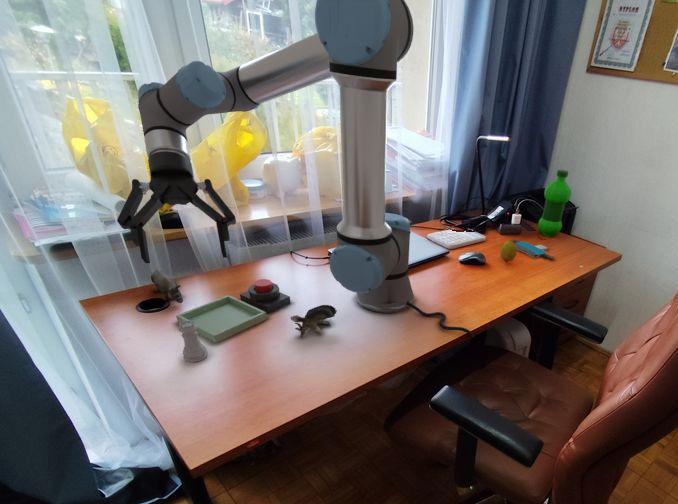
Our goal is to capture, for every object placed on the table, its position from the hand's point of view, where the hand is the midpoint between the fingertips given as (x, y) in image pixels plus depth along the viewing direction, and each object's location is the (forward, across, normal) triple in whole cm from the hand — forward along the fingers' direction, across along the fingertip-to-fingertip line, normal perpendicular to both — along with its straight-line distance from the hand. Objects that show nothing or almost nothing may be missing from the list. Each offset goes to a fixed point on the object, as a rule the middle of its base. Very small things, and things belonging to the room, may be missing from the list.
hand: (186, 258), depth 83 cm
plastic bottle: (-18, -127, -44) cm, 136 cm away
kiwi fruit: (-1, -92, -27) cm, 96 cm away
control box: (+5, -13, -20) cm, 25 cm away
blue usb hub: (-7, -109, -33) cm, 114 cm away
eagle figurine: (+17, -22, -8) cm, 29 cm away
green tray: (+10, -3, -15) cm, 18 cm away
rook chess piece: (+19, +2, -6) cm, 20 cm away
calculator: (-18, -84, -44) cm, 97 cm away
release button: (+2, -13, -18) cm, 22 cm away
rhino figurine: (0, +8, -26) cm, 27 cm away
